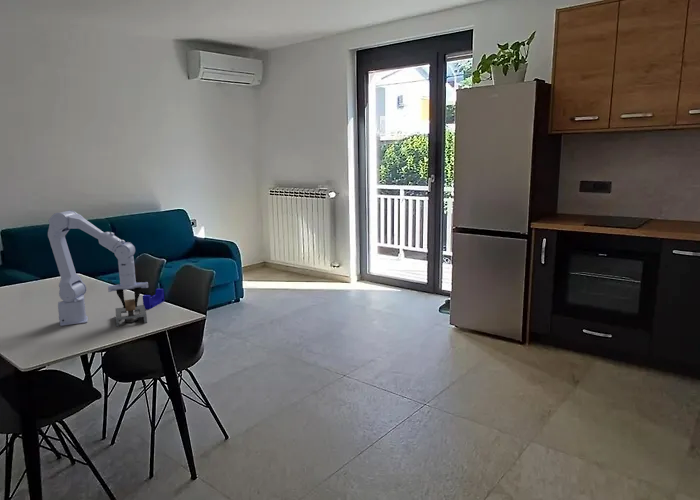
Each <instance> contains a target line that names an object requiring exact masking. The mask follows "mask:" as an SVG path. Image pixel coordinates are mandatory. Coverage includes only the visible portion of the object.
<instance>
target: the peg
mask: <svg viewBox="0 0 700 500" xmlns="http://www.w3.org/2000/svg"><path fill="white" fill-rule="evenodd" d="M124 301H125V309H126V311H127V314H128V315H127V316H129V315H135V314H134V312H135V310H136V308H135V298H130V299H124ZM138 321H139V317H138V318H130V319H124V322H125V323H134V322H138Z"/></svg>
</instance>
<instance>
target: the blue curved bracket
mask: <svg viewBox="0 0 700 500" xmlns="http://www.w3.org/2000/svg"><path fill="white" fill-rule="evenodd" d="M164 302H165V288H156V289H155V294H153V295H151V294H144V295H142V305H144V306H145V310H151V309H153V308H154V307H157V306H158V305H160V304H162V303H164Z"/></svg>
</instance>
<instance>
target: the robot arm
mask: <svg viewBox="0 0 700 500" xmlns="http://www.w3.org/2000/svg"><path fill="white" fill-rule="evenodd" d="M48 224H49V226H48V229H47V238H48V240H49V243H50V247H51V249H52V253H53V257H54V260H55V263H56V266H57V270H58V272H59V276H60V280H59V282H58V287H59V288H58V289H59V291H58V296H59V298H60V299H61V301H58V302H57V311H58V321H59V326H60V327H62V326H71V325H77V324H84V323H85V324H87V323H88V320H89V316H88V315H87V312H86V303H85V294H86V293H87V285H86V284H85V282H84V281H83V280H82V277H81V276H80V275H78V274H77V273H76V268H75V266H74V262H73V259H72V255H71V253H70V249H69V246H68V243H67V239H66V236H67V234H68V233H69V231H70V230H71V229H72V230H73V229H74V230H75V229H77V230H81V231H83V232H84V233H86V234H88V235H90V236H92V237H93V238H95V239H97V240H98V244H99V245H100V246H102V247H104V248H105V249H108V250H109V251H110V252H112V253H114V256H115V257H116V259H117V265H118V274H119V275H118V277H119V283H118V284H114V285H108V286H107V290H108V293H111V292H116V295H117V296H118V298H119V300H120V302H121V304H122V308H125V293H124V291H126V290H133V292H134V299H135V307H137V306H138V301H139V297H140V296H141V292H142V289H148V288H149V282H148V281H145V282H142V281H141V282H140V281H139V282H137V281H136V280H137V279H136V267H135V258H134V255H135V253H136V246H135V245H134V244H133V243H132V242H131V241H130V242H129V241H127V242H126V241H125V240H124V239H121V238H119V237H118V236H116V235H115V232H112V231H105V232H104V231H102V229H100V228H98V227H97V226H96V225H94V224H93V223H92V222H90V221H89V220H87V219H86V218H85V217H83V215H82V214H80V213H77V212H76V211H75V210H72V209H68V210H66V211H65V210H64V211H61V212H56V213H54V214H52V215H51V217H50V218H49V219H48Z"/></svg>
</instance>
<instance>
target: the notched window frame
mask: <svg viewBox="0 0 700 500" xmlns="http://www.w3.org/2000/svg"><path fill="white" fill-rule="evenodd" d="M135 308H136V310H134V312H139V314H134V315H129V316H128V315H123V316H122V314H128V311H126V309H125V308H123V307H116V308H115V322H116V327H117V328H119V327H120V320H121V321H122V320H125V319H130V318H138V319H139V318H143V324H147V323H148V318H147V316H148V315H147V311H146V310H147V309H145V306H144V305H143V304H141V305H140V304H139V305H137V307H135Z"/></svg>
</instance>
